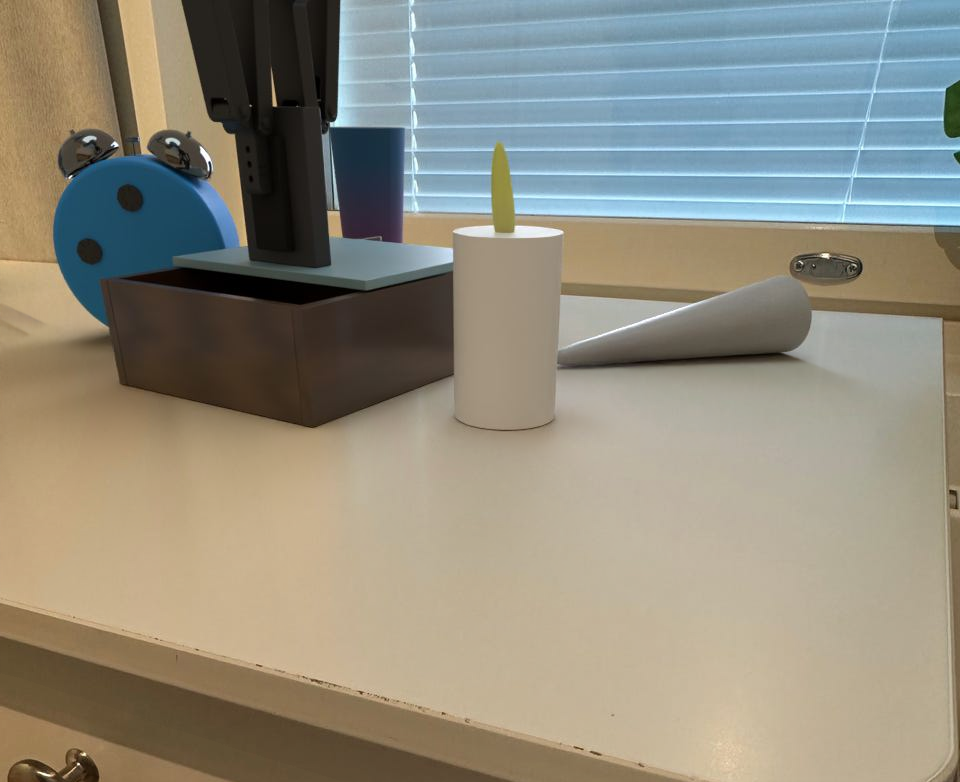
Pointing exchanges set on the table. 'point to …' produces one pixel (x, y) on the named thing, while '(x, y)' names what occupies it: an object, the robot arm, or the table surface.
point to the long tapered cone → (708, 328)
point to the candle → (506, 315)
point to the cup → (370, 180)
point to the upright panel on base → (317, 228)
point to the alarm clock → (134, 209)
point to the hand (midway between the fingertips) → (288, 247)
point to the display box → (278, 340)
